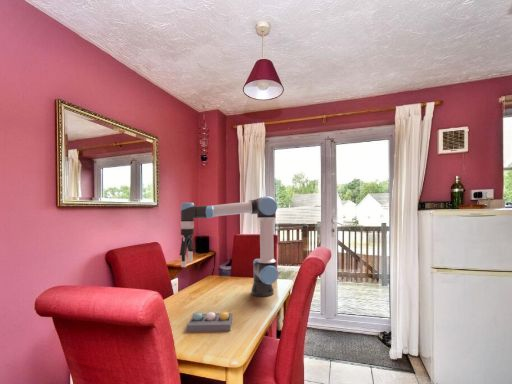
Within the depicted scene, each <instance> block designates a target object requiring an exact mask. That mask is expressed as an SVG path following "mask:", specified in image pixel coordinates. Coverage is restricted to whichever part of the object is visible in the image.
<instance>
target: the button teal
mask: <svg viewBox="0 0 512 384" xmlns="http://www.w3.org/2000/svg"><path fill="white" fill-rule="evenodd" d="M192 314H193V315H192V316H193V321H201V320H202V314H203V313H202V312H201V311H198V312H194V313H192Z"/></svg>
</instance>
